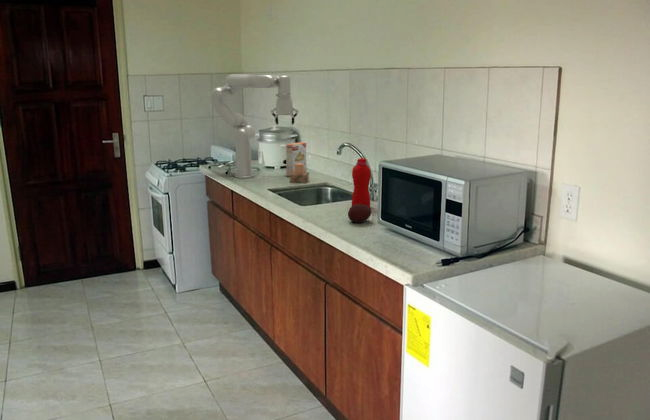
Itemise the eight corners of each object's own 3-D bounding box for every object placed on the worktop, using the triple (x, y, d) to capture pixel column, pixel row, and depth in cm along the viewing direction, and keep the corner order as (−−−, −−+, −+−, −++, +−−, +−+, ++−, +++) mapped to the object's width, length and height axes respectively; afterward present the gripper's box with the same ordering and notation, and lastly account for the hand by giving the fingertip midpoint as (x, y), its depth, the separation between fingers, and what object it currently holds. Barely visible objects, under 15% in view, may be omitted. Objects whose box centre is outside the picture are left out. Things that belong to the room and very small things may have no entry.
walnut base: (290, 183, 324) (290, 175, 323) (292, 179, 334) (292, 171, 333) (306, 183, 323) (306, 175, 322) (308, 180, 333) (308, 172, 332)
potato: (359, 217, 249) (359, 200, 247) (377, 222, 241) (377, 204, 239) (341, 221, 242) (342, 204, 240) (359, 227, 234) (360, 208, 232)
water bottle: (348, 205, 270) (348, 157, 264) (369, 205, 270) (370, 157, 264) (348, 210, 261) (348, 160, 255) (370, 210, 261) (371, 160, 255)
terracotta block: (294, 174, 325) (294, 164, 324) (296, 172, 330) (295, 163, 328) (303, 174, 325) (302, 164, 323) (304, 172, 330) (303, 163, 328)
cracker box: (293, 177, 342) (292, 144, 336) (286, 176, 345) (285, 144, 340) (306, 174, 352) (306, 142, 347) (299, 172, 356) (299, 141, 351)
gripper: (269, 96, 322) (270, 124, 326) (297, 96, 320) (297, 125, 324) (271, 95, 329) (272, 123, 333) (299, 95, 327) (299, 123, 332)
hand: (284, 124), depth 329 cm, fingers open, 9 cm apart
